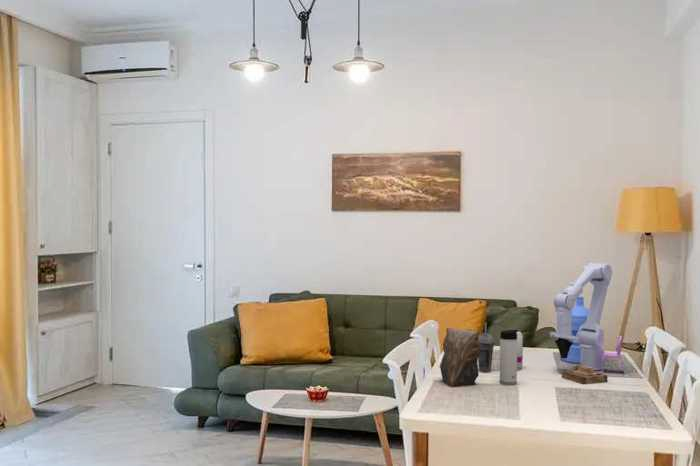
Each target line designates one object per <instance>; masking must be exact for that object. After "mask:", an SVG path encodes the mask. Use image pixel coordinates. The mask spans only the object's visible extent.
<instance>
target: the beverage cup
mask: <svg viewBox="0 0 700 466" xmlns="http://www.w3.org/2000/svg"><path fill="white" fill-rule="evenodd" d="M484 323H485V324H484V332H482V333H479V335H478V341H479V345H480V346H479V351H480V354H479V357H478V360H477V362H478V372H480V373H491V372H492V363H493V354H494V347H495V343H496V342H495V340H494V337H493V335H492V334H491V333H489V332H487V322H486V321H485V322H484Z"/></svg>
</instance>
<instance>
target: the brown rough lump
mask: <svg viewBox="0 0 700 466" xmlns="http://www.w3.org/2000/svg"><path fill="white" fill-rule="evenodd" d="M479 335H480V331H479V330H477V331H476V330H472V329H470V328H465V329H462V328H459V329H458V328H453V327H446V335H445V337H444V339H443V343H442V350H443V355H442V358H441V362H440V364H439V368H440V369H439V370H440V374H441V379H442V380H441V381H442V382H443V383H444V384H446V385H447V386H448V387H450V388H458V387H468V386H475V385H477V383H476V380H477V378H478V377H479V364H478V357H479V354H480V351H479V346H480V345H479V341H478V336H479Z"/></svg>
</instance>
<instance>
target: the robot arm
mask: <svg viewBox="0 0 700 466" xmlns="http://www.w3.org/2000/svg"><path fill="white" fill-rule="evenodd" d="M612 274H613V270H612V266H611V265H610V264H609V263H599V262H586V263H585V265H584V266H583V267H582V273H581V274H580V275H579V277H578V278H577V279H576V281H575V282H574V281H573V282H570V283H569V284H568V286H567V287H566V288H565V289H564V290H562V292H561V293H558V294H556V295H555V297H554V298H553V299H554V300H553V305H554V308H555V312H556V332H554V331H552V332H549V337H550V338H554V339H555V341H554V343H555V344H556V346H557V348H558V351H559V356H560V359H561V358H567V356H568V352H569V349H570V347H571V345H572V344H573V343H578V344H579V346H580V347H581V356H580V364H579V365H584V366H588V367H592V368H594V371H600V370H601V371H603V370H602V356H603V355H604V352H605V349H604V348H603V347H602V346H603V345H604V342H605V338H604V334H605V331H604V329H603V328H602V327H601V326H600V324H601V320H602V316H603V315H602V314H603V311H604V305H605V301H606V297H607V293H608V288H609V285H610V283H611V280H612ZM588 283H590V284H592V286H593V291H592V295H591V299H590V304H589V308H588V309H589V312H588V316H587V321H586V323H584V324H583V325H581V326H580V329H579V331H578V333H577V335H576V337H575V336H573V335H572V308H573V307H575V306H576V300H577V298H578V297H580V295H581V294H582V293H583V292H584V290H583V288H584V287H585V286H586V285H587V284H588ZM592 331H593V332H592ZM603 369H604V370H607V367H606V358H604V359H603Z"/></svg>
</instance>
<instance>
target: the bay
mask: <svg viewBox="0 0 700 466" xmlns="http://www.w3.org/2000/svg"><path fill="white" fill-rule="evenodd" d="M594 373H596V374H597V376H587V377H583V376H580V375H576V374H573V373H572V372H569V371H566V370H562V371H561V378H562V379H564V380H568V381H571V382H573V383H574V382H575V383H578V384H582V385H590V384H592V385H593V384H598V383H599V384H600V383H608V375H607V374H604V373H600V372H597V371H594Z"/></svg>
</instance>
